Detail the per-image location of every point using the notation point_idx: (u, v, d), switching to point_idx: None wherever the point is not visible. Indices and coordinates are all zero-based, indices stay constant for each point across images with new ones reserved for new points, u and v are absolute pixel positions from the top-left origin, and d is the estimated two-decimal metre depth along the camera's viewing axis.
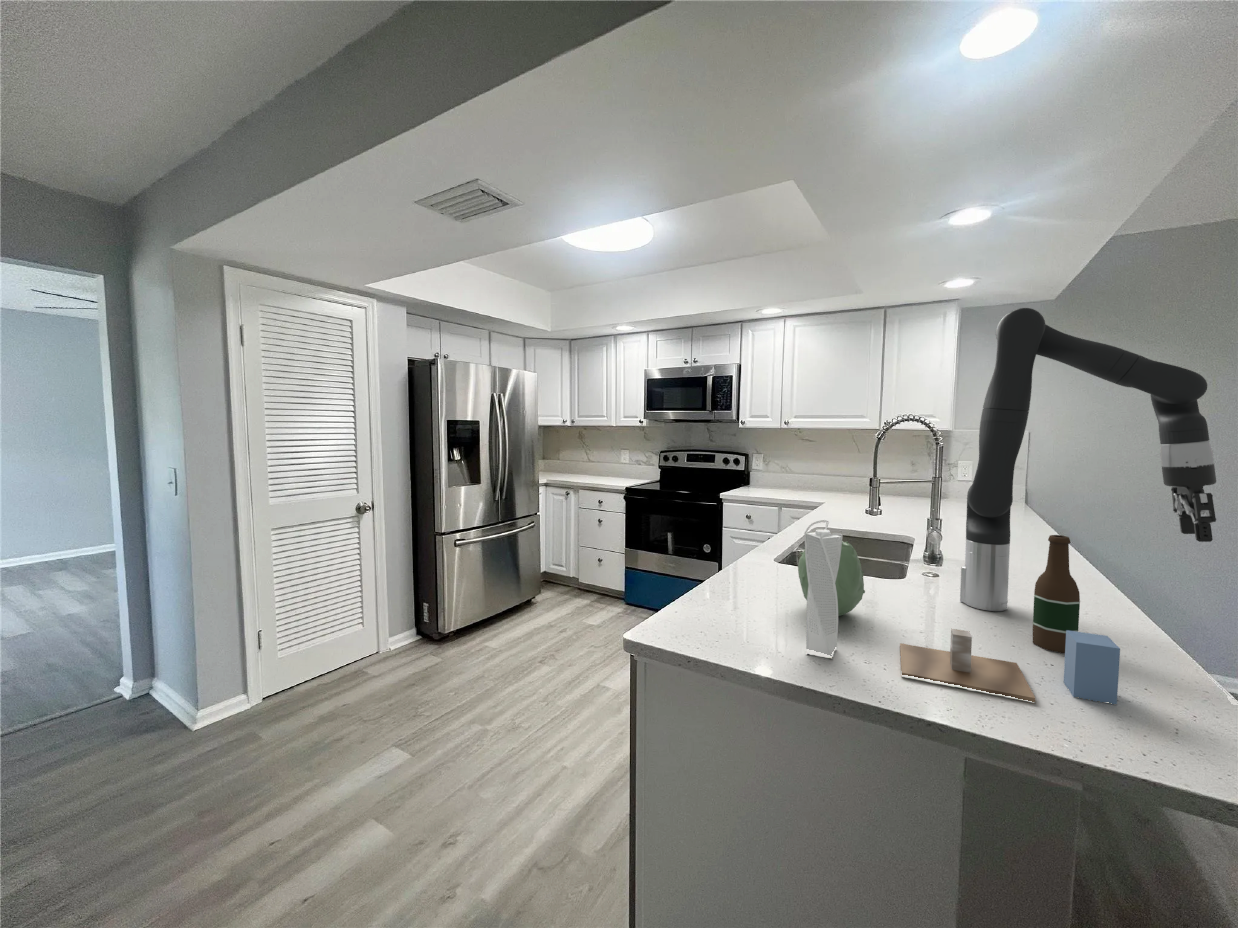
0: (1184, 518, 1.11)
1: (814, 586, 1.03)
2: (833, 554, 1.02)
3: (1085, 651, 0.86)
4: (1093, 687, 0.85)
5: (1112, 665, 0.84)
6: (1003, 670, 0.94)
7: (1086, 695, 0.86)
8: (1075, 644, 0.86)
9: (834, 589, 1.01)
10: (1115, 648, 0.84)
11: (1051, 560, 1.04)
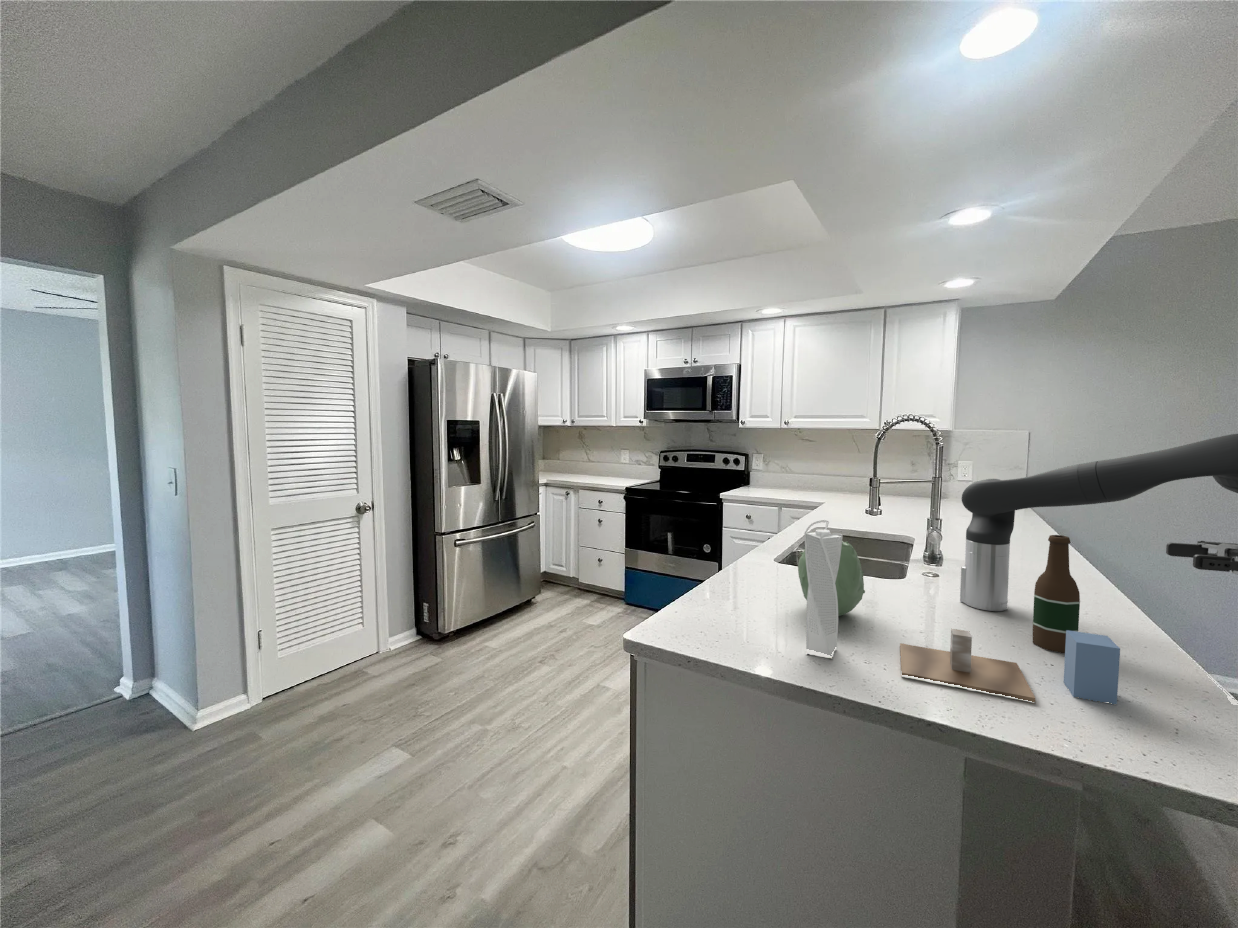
0: (1197, 548, 0.83)
1: (814, 586, 1.03)
2: (833, 554, 1.02)
3: (1085, 651, 0.86)
4: (1093, 687, 0.85)
5: (1112, 665, 0.84)
6: (1003, 670, 0.94)
7: (1086, 695, 0.86)
8: (1075, 644, 0.86)
9: (834, 589, 1.01)
10: (1115, 648, 0.84)
11: (1051, 560, 1.04)
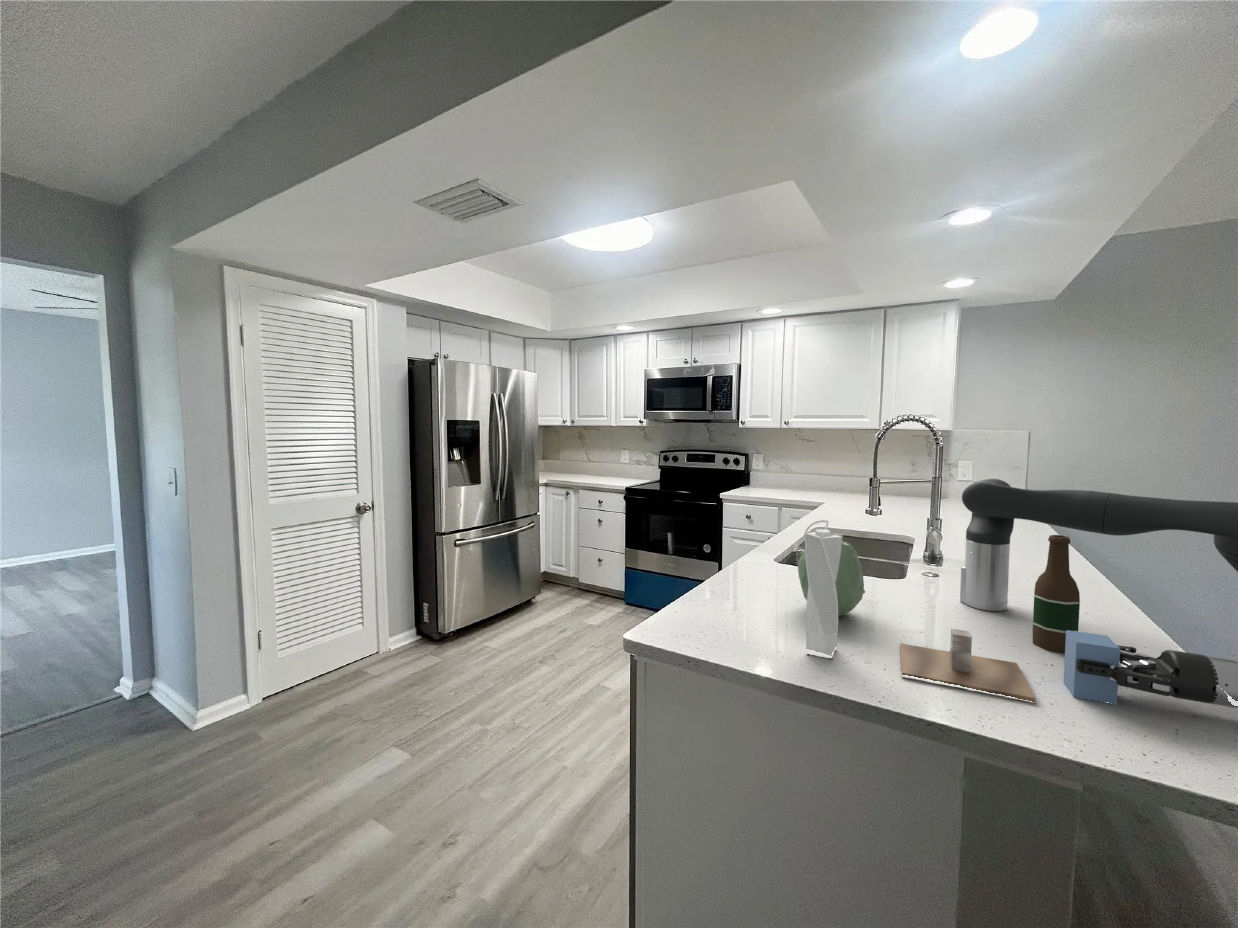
0: None
1: (814, 586, 1.03)
2: (833, 554, 1.02)
3: (1085, 651, 0.86)
4: (1093, 687, 0.85)
5: None
6: (1003, 670, 0.94)
7: (1086, 695, 0.86)
8: (1075, 644, 0.86)
9: (834, 589, 1.01)
10: (1115, 648, 0.84)
11: (1051, 560, 1.04)
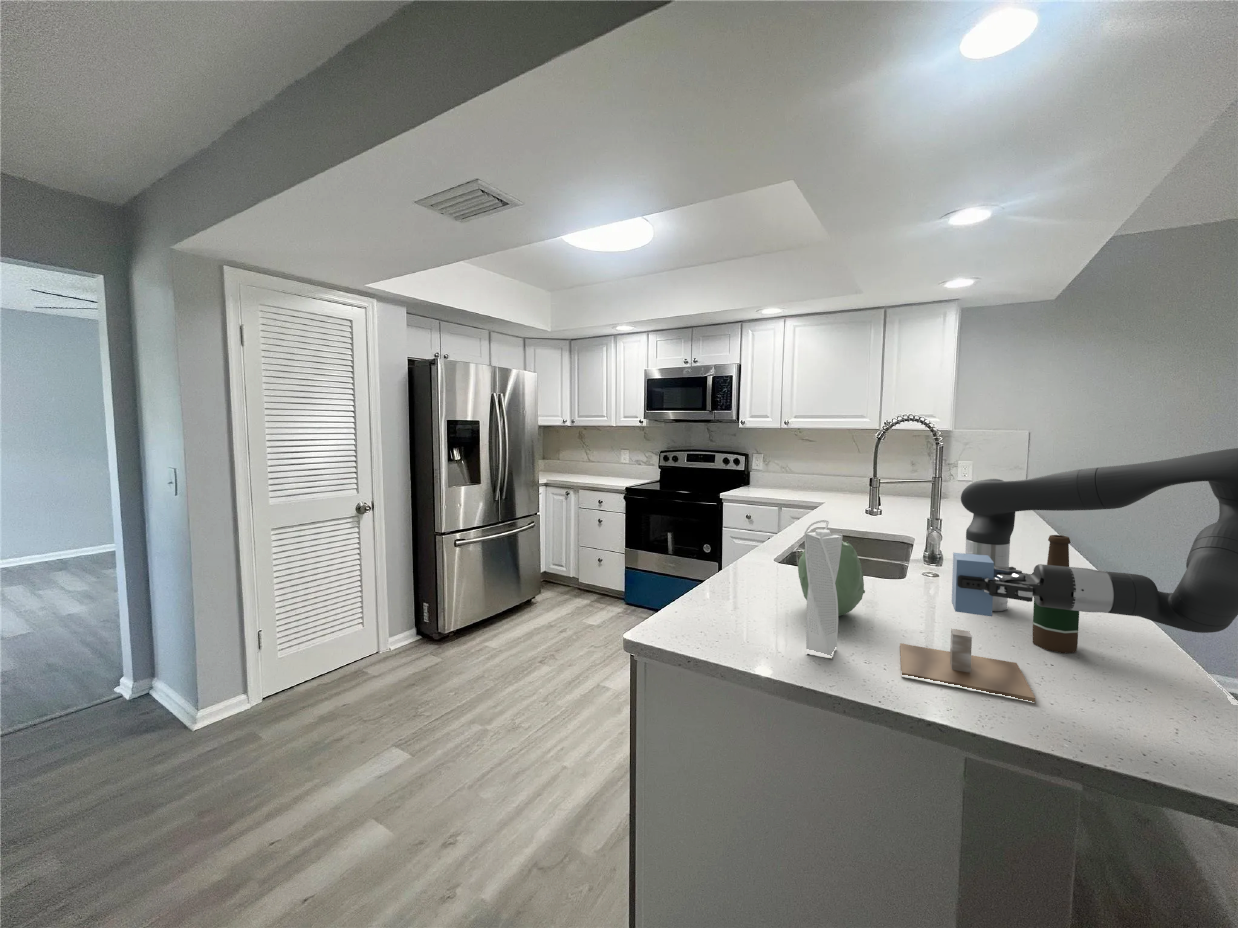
0: None
1: (814, 586, 1.03)
2: (833, 554, 1.02)
3: (964, 568, 0.92)
4: (972, 601, 0.92)
5: None
6: (1003, 670, 0.94)
7: (966, 609, 0.92)
8: (956, 562, 0.93)
9: (834, 589, 1.01)
10: (990, 563, 0.90)
11: (1051, 560, 1.04)
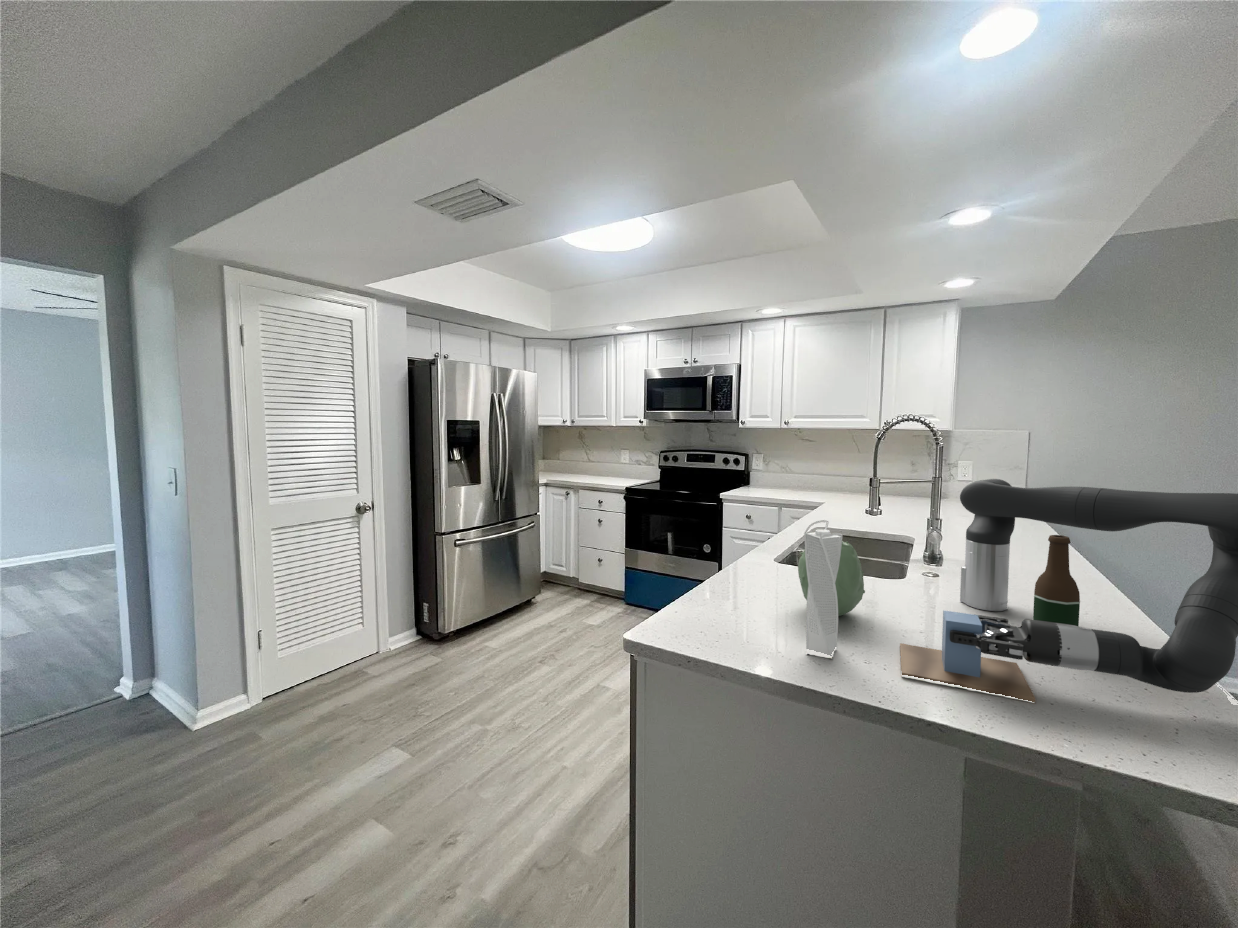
0: None
1: (814, 586, 1.03)
2: (833, 553, 1.02)
3: (953, 629, 0.93)
4: (960, 662, 0.93)
5: None
6: (1003, 670, 0.94)
7: (955, 669, 0.94)
8: (945, 622, 0.94)
9: (834, 589, 1.01)
10: (978, 625, 0.92)
11: (1051, 560, 1.04)
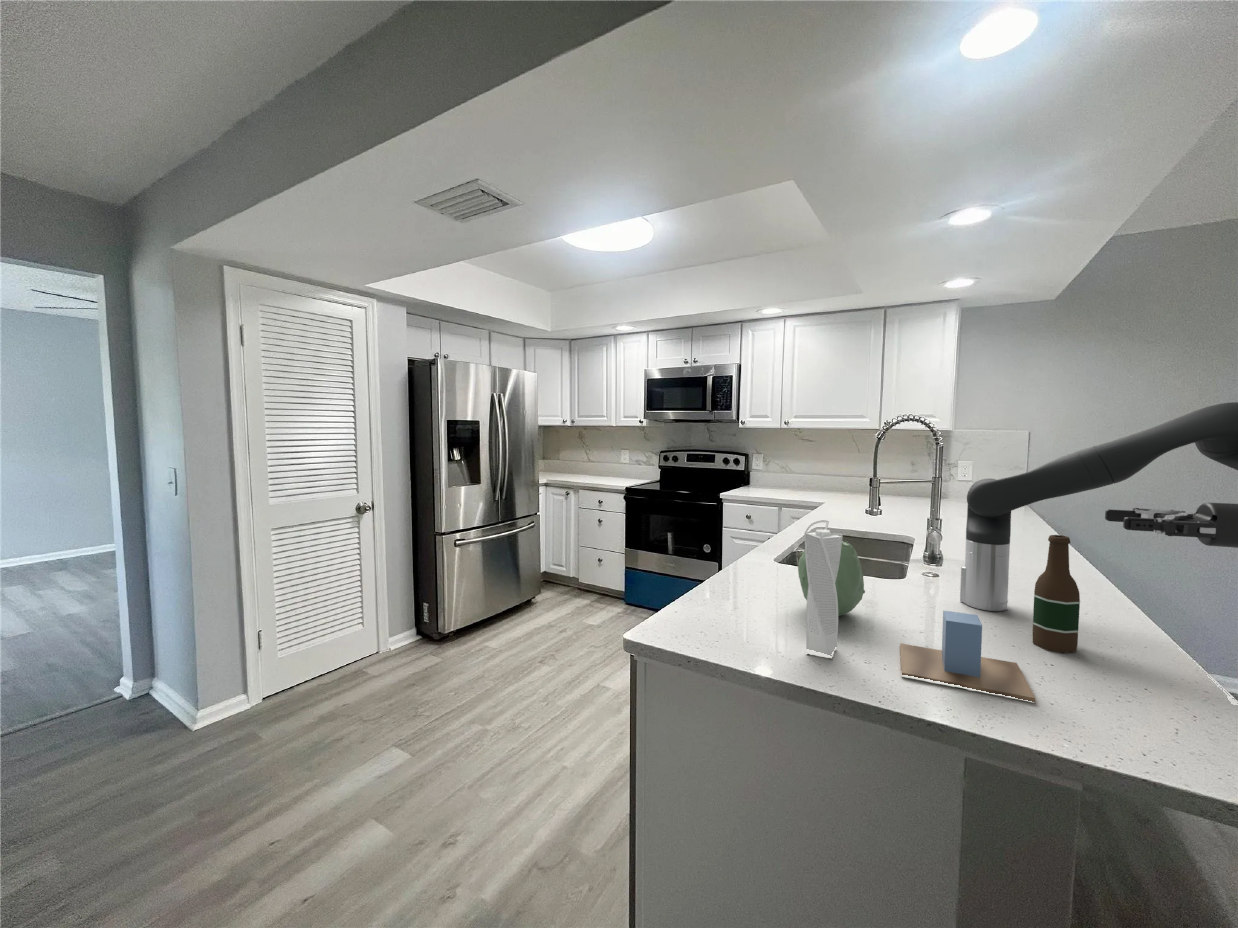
0: (1131, 514, 0.94)
1: (814, 586, 1.03)
2: (833, 554, 1.02)
3: (953, 629, 0.93)
4: (960, 662, 0.93)
5: (976, 641, 0.92)
6: (1003, 670, 0.94)
7: (955, 669, 0.94)
8: (945, 622, 0.94)
9: (834, 589, 1.01)
10: (978, 625, 0.92)
11: (1051, 560, 1.04)
